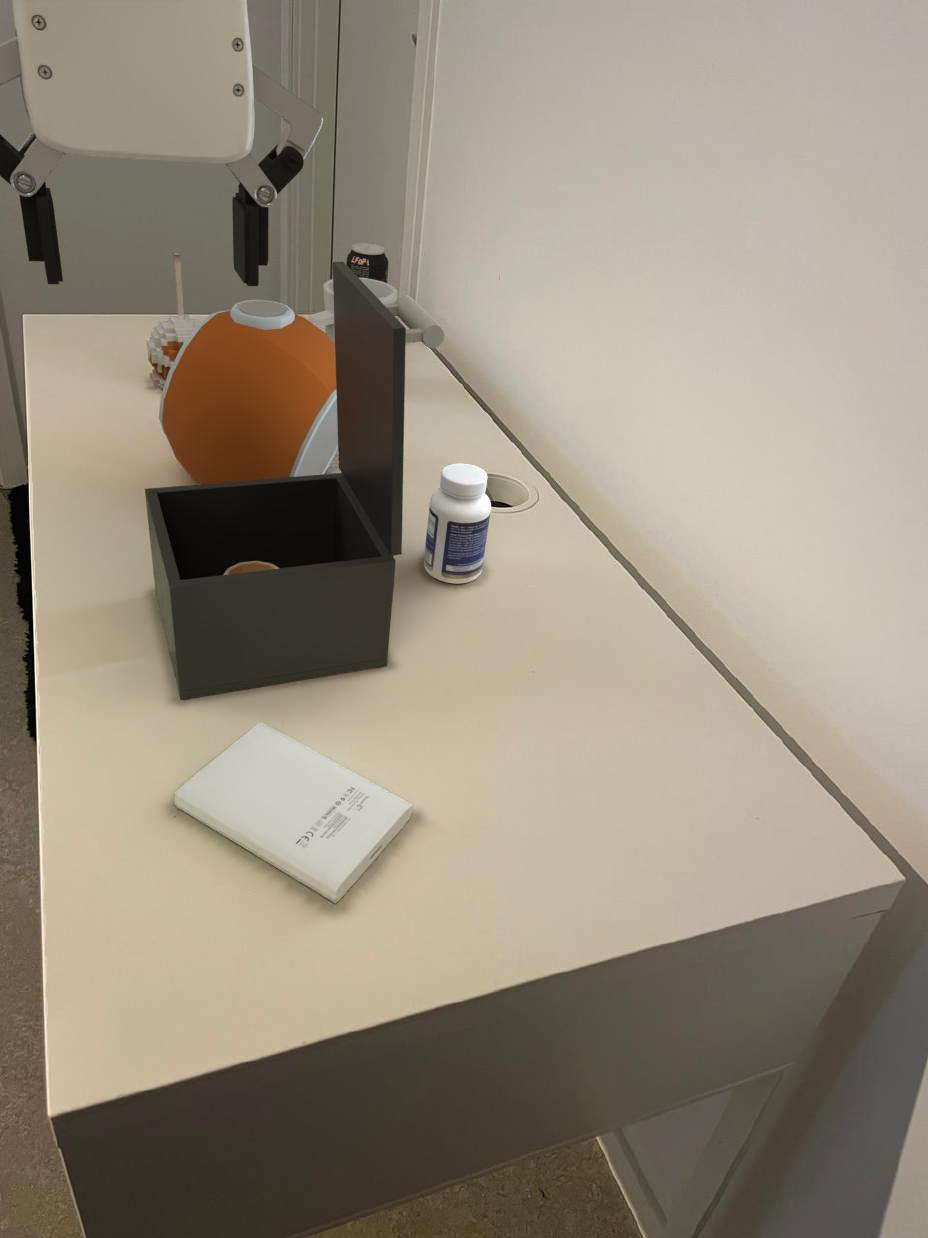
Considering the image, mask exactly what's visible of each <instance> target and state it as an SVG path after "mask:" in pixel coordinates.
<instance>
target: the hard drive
mask: <svg viewBox="0 0 928 1238" xmlns="http://www.w3.org/2000/svg"><path fill="white" fill-rule="evenodd" d="M174 804H175V808H178V809H179V810H181V811H182V812H184V813H185V814H187V815H189V816H191V817H192V818H193V819H195V820H197V821H198V822H201V823H202V824H203V825H205V826H207V827H209V828H210V829H212V830H213V831H215V832H217V833H219V834H220V835H222V836H223V837H224V838H227V839H228V840H230V841H231V842H234V843H235V844H236V845H239V846H240V847H242V848H244V849H245V850H246V851H248V852H250V853H251V854H253V855H255V856H256V857H258V858H259V859H261V860H263V861H264V862H266V863H268V864H269V865H271V866H273V867H274V868H277V869H278V870H280V871H281V872H283V873H284V874H286V875H288V876H289V877H291V878H293V879H294V880H296V881H297V882H299V883H301V884H302V885H304V886H306V887H308V888H309V889H310V890H312V891H314V892H316V893H317V894H319V895H320V896H322V897H323V898H325V899H327V900H329V901H330V902H332V903H333V904H336V903H337V902H339V901H340V900H341V899H342V898H343V897H344V896H345V895H346V894H347V892H348V891H349V890H350V889H351V888H352V887H353V886H354V885H355V883H356V882H357V881H358V880H359V879H360V878H361V877H362V875H363V874H364V873H365V872H366V870H367V869H369V867H370V866H371V865H372V863H374V861H375V860H376V859H377V858H378V857H379V856H380V855H381V853H382V852H384V850H385V849H386V847H388V845H389V844H391V842H392V841H393V840H394V839H395V837H396V836H397V835H398V834H399V833H400V832H401V831H402V829H403V828H404V827H405V826H406V825H407V824H408V822H409V820H410V819H411V817H412V813H413V805H414V804H412V803H410V802H409V801H407V800H405V799H403V798H401V797H399V796H397V795H396V794H394V793H391V792H390V791H388V790H386V789H384V788H383V787H381V786H379V785H378V784H375V783H374V782H372V781H370V780H368V779H367V778H365V777H363V776H361V775H359V774H358V773H355V772H354V771H352V770H350V769H348V768H347V767H344V766H343V765H341V764H339V763H337V762H335V761H334V760H332V759H330V758H328V757H326V756H324V755H322V754H321V753H319V752H317V751H315V750H314V749H312V748H310V747H308V746H306V745H304V744H302V743H301V742H298V741H297V740H295V739H293V738H291V737H290V736H288V735H285V733H282V732H281V731H278V730H276V729H275V728H273V727H271V726H269V725H267V724H265V723H263V722H258V723H256V725H254V726H253V727H252V728H250V729H249V730H248V731H247V732H245V733H244V734H243V735H242V736H240V737H239V738H238V739H237V740H236V741H234V742H233V743H232V744H231V745H229V746H228V747H227V748H226V749H225V750H224V751H222V752H221V753H220V754H219V755H218V756H216V757H215V758H214V759H212V760H211V761H210V762H209V763H207V764H206V765H205V766H204V767H203V768H201V769H200V770H199V771H197V772H196V774H194V775H193V776H192V777H190V778H189V779H188V780H187V781H186V782H184V783H183V784H182V785H180V787H178V788H177V789H176V791H174Z"/></svg>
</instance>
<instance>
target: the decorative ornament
mask: <svg viewBox="0 0 928 1238" xmlns="http://www.w3.org/2000/svg"><path fill="white" fill-rule="evenodd" d="M173 264H174V265H173V266H174V277H175V291H176V304H177V305H176V306H177V315H168V317H167V318H166V319H167V320H160V321H159V322H157V325H155V326H154V327H153V330H151V331H150V337H148V338H149V340H146V348H147V360H148V361H149V363H150V366H151V367H153V369H151V371H152V372H149V379H150V380H151V383H152V384H153V385H154V386H157V385H159V387H160V389H164V385H165V382H166V379H167V376H168V373H169V371H170V369H171V367H172V365H173V363H174V361H175V359H176V357H177V355H178V353H179V351H180V349H181V347H182V345H183V344H184V343H185V341H186V340H187V339H188V337H189V336H190V335H191V333H192V332H193V331H194V329H195V328H196V326H197V325H198V324H200V323H201V322H202V321H200V319H192V318H191V316H190V315H188V314H187V315H186V314H185V310H184V296H183V295H184V294H183V280H182V266H181V254H180V253H179V252H175V253H174V252H173Z"/></svg>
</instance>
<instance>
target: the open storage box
mask: <svg viewBox="0 0 928 1238" xmlns="http://www.w3.org/2000/svg"><path fill="white" fill-rule="evenodd" d="M144 495H145V505H146V513H147V514H146V515H147V526H148V532H149V533H148V534H149V542H150V543H149V544H150V554H151V560H152V561H151V563H152V571H153V581H154V592H155V596H156V601H157V606H158V610H159V615H160V618H161V622H162V628H163V631H164V636H165V640H166V645H167V649H168V653H169V658H170V662H171V666H172V671H173V675H174V679H175V683H176V688H177V692H178V697H179V700H180V701H182V700H188V699H189V700H191V699H196V698H202V697H207V696H208V697H209V696H213V695H219V694H225V693H231V692H238V691H244V690H249V689H257V688H261V687H269V686H273V685H274V686H275V685H280V684H286V683H292V682H298V681H304V680H310V679H317V678H322V677H323V678H324V677H328V676H329V677H330V676H336V675H341V674H347V673H353V672H358V671H364V670H370V669H371V670H372V669H377V668H383V667H387V666H388V659H389V658H388V657H389V648H390V647H389V646H390V635H391V624H392V611H393V602H394V601H393V599H394V588H395V576H396V575H395V574H396V563H397V561H396V559H395V557H394V556H391V555H390V553H389V551H388V550H387V548H386V546H385V545H384V543H383V541H382V540H381V538H380V536H379V534H378V533H377V531H376V529H375V528H374V526H373V524H372V523H371V521H370V519H369V518H368V516H367V514H366V513H365V511H364V509H363V508H362V506H361V504H360V503H359V501H358V499H357V498H356V496H355V494H354V493H353V491H352V489H351V488H350V486H349V484H348V483H347V481H346V479H345V478H344V476H343V474H342V473H341V472H337V473H326V474H325V473H324V474H323V475H310V476H298V477H285V478H273V479H260V480H248V481H235V482H223V483H210V484H199V483H198V484H186V485H174V486H163V487H149V488H145V489H144ZM249 561H261V562H267V563H271V564H273V565H275V566H277V567H279V569H271V570H262V571H254V572H245V573H237V574H228V575H223V574H224V573H225V571H226V570H227V569H228V568H229V567H232V566H234V565H236V564H238V563H240V562H249Z"/></svg>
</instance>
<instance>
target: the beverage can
mask: <svg viewBox="0 0 928 1238" xmlns="http://www.w3.org/2000/svg"><path fill="white" fill-rule="evenodd" d="M385 252H386V249H385V247H383V246H381V245H378V244H374V243H367V242H362V243H361V242H359V243H358V242H357V243H354V244H352V245H351V250H350V251H349V253H348V254H347V257H346V261H345V264H346V265H347V266H348V267H349V268H350V269H351V270H352V271H353V273H354V274H355V275H356V276H357V277H358V278H367V279H373V280H377V281H381V282H385V283H387V284H388V279H389V278H388V276H389V265H390V263H389V259H388V257H387V256H386V253H385Z"/></svg>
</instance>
